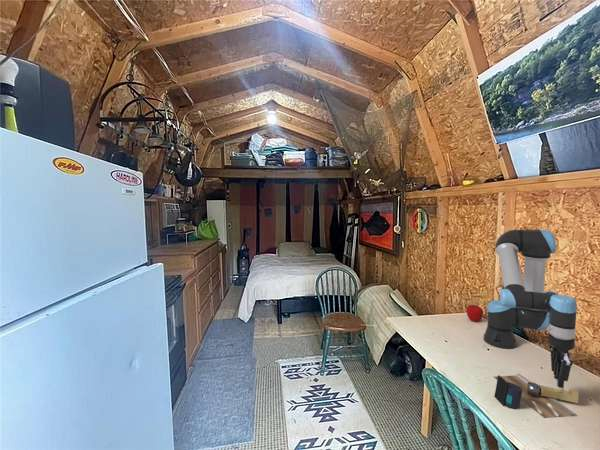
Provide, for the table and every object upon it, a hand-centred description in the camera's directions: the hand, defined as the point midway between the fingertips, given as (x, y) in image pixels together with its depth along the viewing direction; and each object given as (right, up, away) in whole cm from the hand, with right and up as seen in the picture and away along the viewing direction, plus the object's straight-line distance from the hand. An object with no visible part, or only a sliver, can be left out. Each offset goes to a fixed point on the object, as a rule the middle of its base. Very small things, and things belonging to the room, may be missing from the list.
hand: (558, 393), depth 112 cm
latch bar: (-3, -2, 0) cm, 4 cm away
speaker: (-21, -4, -2) cm, 22 cm away
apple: (+15, +2, +78) cm, 79 cm away
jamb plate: (-9, -3, +3) cm, 10 cm away
